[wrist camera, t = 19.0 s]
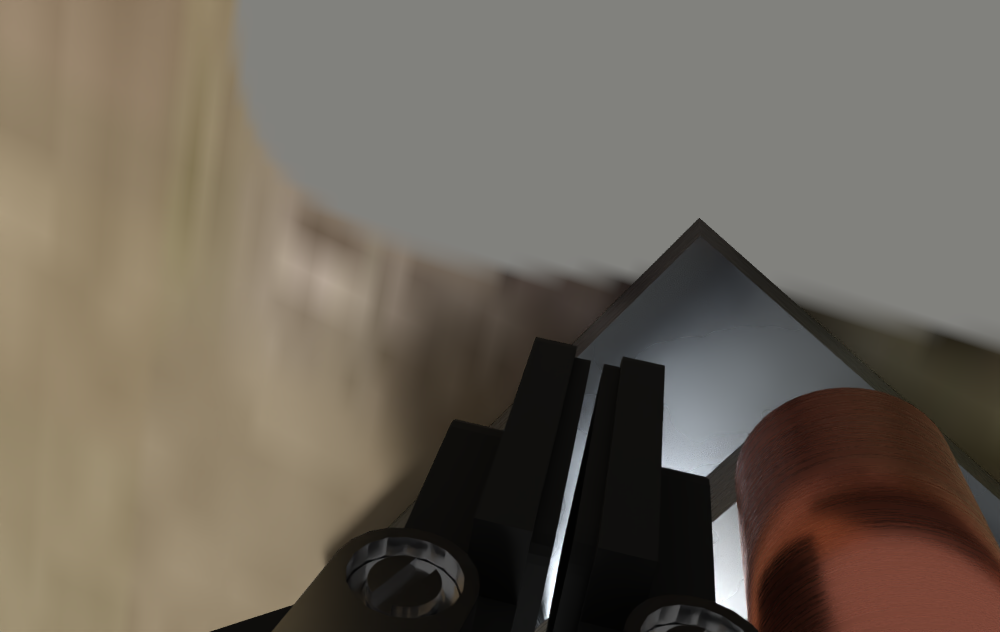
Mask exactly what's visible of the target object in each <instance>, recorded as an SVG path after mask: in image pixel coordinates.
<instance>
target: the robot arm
mask: <svg viewBox="0 0 1000 632" xmlns="http://www.w3.org/2000/svg"><path fill="white" fill-rule="evenodd" d="M576 350H577V346H574V345H569V344H565V343H560V342H556V341H551V340H547V339H542V338H537V337H536V339H535V341H534V344H533V347H532V350H531V353H530V356H529V359H528V362H527V365H526V368H525V370H524V373H523V376H522V379H521V382H520V385H519V388H518V391H517V394H516V397H515V400H514V403H513V405H512V408H511V411H510V414H509V417H508V420H507V423H506V426H505V429H504V430H499V429H495V428H491V427H486V426H482V425H478V424H473V423H469V422H465V421H460V420H456V419H455V420H453V422H452V423H451V425H450V427H449V429H448V432H447V434H446V436H445V438H444V440H443V443H442V445H441V447H440V449H439V452H438V454H437V456H436V458H435V460H434V463H433V465H432V467H431V469H430V472H429V474H428V476H427V478H426V480H425V483H424V485H423V487H422V489H421V491H420V494H419V496H418V498H417V500H416V503H415V505H414V507H413V509H412V511H411V514H410V516H409V518H408V520H407V523H406V525H405V527H404V528H385V529H380V530H374V531H369V532H367V533H365V534H362V535H360V536H358V537H355V538H353V539H351V540H350V541H349V542H348V543H347V544H345V545H344V546H343V547H342V548H341V549H340V550H338V551H337V553H336V554H335V555H334V556H333V558H332V559H331V560H330V561H329V562H328V564H327V565H326V566H325V567H324V569H323V570H322V571H321V572H320V573H319V575H318V576H317V577H316V578H315V580H314V581H313V582H312V583H311V584H310V586H309V587H308V588H307V589H306V591H305V592H304V593H303V594H302V595H301V597H300V598H299V599H298V600H297V601H296V603H295V604H294V605H292V606H288V607H285V608H282V609H279V610H276V611H273V612H270V613H267V614H264V615H260V616H257V617H254V618H251V619H248V620H245V621H242V622H239V623H236V624H232V625H229V626H226V627H223V628H220V629H217V630H214V631H211V632H535V628H536V623H537V619H538V614H539V610H540V605H541V601H542V596H543V592H544V587H545V583H546V578H547V574H548V570H549V565H550V560H551V556H552V551H553V547H554V542H555V537H556V533H557V528H558V523H559V518H560V513H561V508H562V503H563V498H564V493H565V488H566V483H567V478H568V473H569V469H570V464H571V459H572V454H573V449H574V444H575V439H576V434H577V429H578V424H579V419H580V414H581V409H582V404H583V399H584V394H585V389H586V384H587V379H588V374H589V369H590V364H591V361H590V360H586V359H581V358H577V357H575V355H576ZM664 383H665V365H661V364H656V363H652V362H647V361H642V360H638V359H633V358H629V357H624V356H623V357H622V360H621V363H620V367H617V366H613V365H608V364H604V365H603V369H602V373H601V378H600V382H599V386H598V391H597V395H596V399H595V404H594V408H593V413H592V417H591V421H590V426H589V430H588V435H587V439H586V443H585V448H584V452H583V457H582V461H581V465H580V470H579V474H578V479H577V483H576V487H575V492H574V496H573V501H572V505H571V509H570V514H569V518H568V523H567V527H566V531H565V536H564V540H563V545H562V550H561V555H560V560H559V565H558V570H557V576H556V581H555V586H554V591H553V597H552V602H551V607H550V613H549V618H548V623H547V629H546V632H759V631H758V630H757V629H756V628H755V627H754V626H753V625H752V624H751V623H750V622H748V621H747V620H746V619H744V618H743V617H741V616H740V615H739V614H737V613H736V612H734V611H733V610H731V609H729V608H726V607H724V606H722V605H720V604H718V603H716V594H715V574H714V554H713V534H712V514H711V493H710V482H709V479H708V478H707V477H704V476H700V475H695V474H691V473H687V472H682V471H678V470H674V469H669V468H665V467H661V466H662V438H663V411H664Z"/></svg>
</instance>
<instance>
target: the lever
mask: <svg viewBox="0 0 1000 632" xmlns="http://www.w3.org/2000/svg"><path fill="white" fill-rule="evenodd" d="M706 477H707V478H708V479H709V482H710V493H711V514H712V534H713V554H714V574H715V594H716V603H718V604H720V605H722V606H724V607H726V608H729V609H731V610H733V611H734V612H736V613H737V614H739V615H740V616H741V617H743V618H744V619H746V620H747V619H748V622H750V623H751V624H752V625H753V626H754V627H755V628H756V629H757V630H758V631H759V632H1000V548H999V546H998V544H997V542H996V540H995V538H994V536H993V534H992V532H991V530H990V528H989V526H988V524H987V522H986V520H985V518H984V516H983V514H982V512H981V510H980V508H979V506H978V504H977V502H976V500H975V498H974V496H973V494H972V492H971V490H970V488H969V486H968V484H967V482H966V480H965V478H964V476H963V474H962V472H961V470H960V468H959V466H958V464H957V462H956V460H955V458H954V456H953V454H952V452H951V450H950V448H949V446H948V444H947V442H946V440H945V438H944V436H943V435H942V433H941V432H940V430H939V429H938V428H937V426H936V425H935V424H934V423H933V422H932V421H931V420H930V419H929V418H928V417H927V416H926V415H925V414H924V413H923V412H921V411H920V410H919V409H917V408H916V407H914V406H913V405H911V404H909V403H908V402H906V401H904V400H902V399H900V398H897V397H895V396H892V395H890V394H887V393H883V392H879V391H876V390H871V389H864V388H849V387H841V388H830V389H824V390H819V391H814V392H810V393H807V394H804V395H801V396H798V397H796V398H794V399H792V400H790V401H787V402H786V403H784V404H782V405H781V406H779V407H777V408H776V409H774V410H773V411H772V412H770V413H769V414H768V415H766V416H765V417H764V418H763V419H762V420H761V421H760V422H759V423H758V424H757V425H756V426H755V427H754V429H753V430H752V431H751V433H750V434H749V435H748V437H747V439H746V440H745V442H744V443H743V444H742V445H741V446H739V447H738V448H737V449H736V450H735V451H734V452H733V453H732V454H731V455H729V456H728V457H727V458H726V459H725V460H724V461H723V462H722V463H720V464H719V465H718V466H717V467H716V468H715V469H714V470H713V471H711V472H710V473H709V474H708V475H707V476H706ZM548 618H549V617H548ZM548 618H547V619H546V620H544V621H543V622H542V623H541V624H540V625H539V626H538V627H537V628H535V632H546V629H547V623H548Z"/></svg>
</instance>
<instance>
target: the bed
mask: <svg viewBox="0 0 1000 632" xmlns="http://www.w3.org/2000/svg"><path fill="white" fill-rule="evenodd" d="M572 345H574V346H577V350H576V355H575V357H577V358H581V359H586V360H590V361H591V364H590V369H589V374H588V379H587V384H586V389H585V394H584V399H583V404H582V409H581V414H580V419H579V424H578V429H577V434H576V439H575V444H574V449H573V454H572V459H571V464H570V469H569V473H568V478H567V483H566V488H565V493H564V498H563V503H562V508H561V513H560V518H559V523H558V528H557V533H556V537H555V542H554V547H553V551H552V556H551V560H550V565H549V570H548V574H547V578H546V583H545V587H544V592H543V596H542V601H541V605H540V610H539V614H538V619H537V623H536V628H537V627H538V626H539V625H540V624H541V623H542V622H543V621H544V620H546V619H547V618H548V617H549V613H550V607H551V602H552V597H553V591H554V586H555V581H556V576H557V570H558V565H559V560H560V555H561V550H562V545H563V540H564V536H565V531H566V527H567V523H568V518H569V514H570V509H571V505H572V501H573V496H574V492H575V487H576V483H577V479H578V474H579V470H580V465H581V461H582V457H583V452H584V448H585V443H586V439H587V435H588V430H589V426H590V421H591V417H592V413H593V408H594V404H595V399H596V395H597V391H598V386H599V382H600V378H601V373H602V369H603V365H604V364H608V365H613V366H617V367H620V363H621V360H622V357H623V356H624V357H629V358H633V359H638V360H642V361H647V362H652V363H656V364H661V365H665V383H664V411H663V438H662V466H661V467H665V468H669V469H674V470H678V471H682V472H687V473H691V474H695V475H700V476H704V477H706V476H707V475H708V474H709V473H710V472H711V471H713V470H714V469H715V468H716V467H717V466H718V465H719V464H720V463H722V462H723V461H724V460H725V459H726V458H727V457H728V456H729V455H731V454H732V453H733V452H734V451H735V450H736V449H737V448H738V447H739V446H741V445H742V444H743V443H744V442H745V440H746V439H747V437H748V435H749V434H750V433H751V431H752V430H753V429H754V427H755V426H756V425H757V424H758V423H759V422H760V421H761V420H762V419H763V418H764V417H765V416H766V415H768V414H769V413H770V412H772V411H773V410H774V409H776V408H777V407H779V406H781V405H782V404H784V403H786V402H787V401H790V400H792V399H794V398H796V397H798V396H801V395H804V394H807V393H810V392H814V391H819V390H824V389H830V388H841V387H849V388H864V389H871V390H876V391H879V392H883V393H887V394H890V395H892V396H895V397H897V398H900V399H902V400H904V399H903V398H902V397H901V396H900V395H899V394H898V393H896V392H895V391H894V390H893V389H892V388H891V387H890V386H888V385H887V384H886V383H885V382H884V381H883V380H882V379H881V378H879V377H878V376H877V375H876V374H875V373H874V372H873V371H872V370H870V369H869V368H868V367H867V366H866V365H865V364H864V363H863V362H861V361H860V360H859V359H858V358H857V357H856V356H855V355H853V354H852V353H851V352H850V351H849V350H848V349H847V348H846V347H844V346H843V345H842V344H841V343H840V342H839V341H838V340H837V339H835V338H834V337H833V336H832V335H831V334H830V333H829V332H828V331H826V330H825V329H824V328H823V327H822V326H821V325H820V324H818V323H817V322H816V321H815V320H814V319H813V318H812V317H811V316H809V315H808V314H807V313H806V312H805V311H804V310H803V309H802V308H800V307H799V306H798V305H797V304H796V303H795V302H794V301H793V300H791V299H790V298H789V297H788V296H787V295H786V294H785V293H783V292H782V291H781V290H780V289H779V288H778V287H777V286H776V285H774V284H773V283H772V282H771V281H770V280H769V279H768V278H767V277H765V276H764V275H763V274H762V273H761V272H760V271H759V270H757V269H756V268H755V267H754V266H753V265H752V264H751V263H750V262H749V261H747V260H746V259H745V258H744V257H743V256H742V255H741V254H739V253H738V252H737V251H736V250H735V249H734V248H733V247H731V246H730V245H729V244H728V243H727V242H726V241H725V240H724V239H722V238H721V237H720V236H719V235H718V234H717V233H716V232H715V231H714V230H712V229H711V228H710V227H709V226H708V225H707V224H706V223H704V222H703V221H702V220H701V219H700V218H699V219H698V220H697V221H696V222H695V223H694V224H693V225H692V226H691V227H690V228H689V229H688V230H687V231H686V232H685V233H684V234H683V235H682V236H681V237H680V238H679V239H678V240H677V241H676V242H675V243H674V244H673V245H672V246H671V247H670V248H669V249H668V250H667V251H666V252H665V253H664V254H663V255H662V256H661V257H660V258H659V259H658V260H657V261H656V262H655V263H653V265H651V266H650V267H649V268H648V269H647V270H646V271H645V272H644V273H643V274H642V275H641V276H640V277H639V278H638V279H637V280H636V281H635V282H634V283H633V284H632V285H631V286H630V287H629V288H628V289H627V290H626V291H625V292H624V293H623V294H622V295H621V296H620V297H619V298H618V299H617V300H616V301H615V302H614V303H613V304H612V305H611V306H610V307H609V308H608V309H607V310H606V311H605V312H604V313H603V314H602V315H601V316H600V317H599V318H598V319H597V320H596V321H595V322H594V323H593V324H592V325H591V326H590V327H589V328H588V329H587V330H586V331H585V332H584V333H583V334H582V335H581V336H580V337H579V338H578V339H577V340H576V341H575V342H574V343H573V344H572ZM904 401H905V400H904ZM906 402H907V401H906ZM512 405H513V404H512ZM512 405H511V406H510V407H509V408H508V409H507V410H506V411H505V412H504V413H503V414H502V415H501V416H500V417H499V418H498V419H497V420H496V421H495V422H494V423H493V424H492V425H491V426H490V427H491V428H495V429H499V430H504V429H505V426H506V423H507V420H508V417H509V414H510V411H511V408H512ZM941 433H942V432H941ZM942 435H943V436H944V438H945V440H946V442H947V444H948V446H949V448H950V450H951V452H952V454H953V456H954V458H955V460H956V462H957V464H958V466H959V468H960V470H961V472H962V474H963V476H964V478H965V480H966V482H967V484H968V486H969V488H970V490H971V492H972V494H973V496H974V498H975V500H976V502H977V504H978V506H979V508H980V510H981V512H982V514H983V516H984V518H985V520H986V522H987V524H988V526H989V528H990V530H991V532H992V534H993V536H994V538H995V540H996V542H997V544H998V546H999V548H1000V484H999V483H998V482H997V481H996V480H995V479H993V478H992V477H991V476H990V475H989V474H988V473H987V472H986V471H984V470H983V469H982V468H981V467H980V466H979V465H978V464H977V463H975V462H974V461H973V460H972V459H971V458H970V457H969V456H967V455H966V454H965V453H964V452H963V451H962V450H961V449H960V448H958V447H957V446H956V445H955V444H954V443H953V442H952V441H951V440H949V439H948V438H947V437H946V436H945V435H944V434H943V433H942ZM415 503H416V501H415V502H414V503H413V504H412V505H411V506H410V507H409V508H408V509H407V510H406V511H405V512H404V513H403V514H402V515H401V516H400V517H399V518H398V519H397V520H396V521H395V522H394V523H393V524H392V525H391V526H389V527H388V528H404V527H405V525H406V523H407V520H408V518H409V516H410V514H411V511H412V509H413V507H414V505H415ZM747 621H748V619H747Z"/></svg>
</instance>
